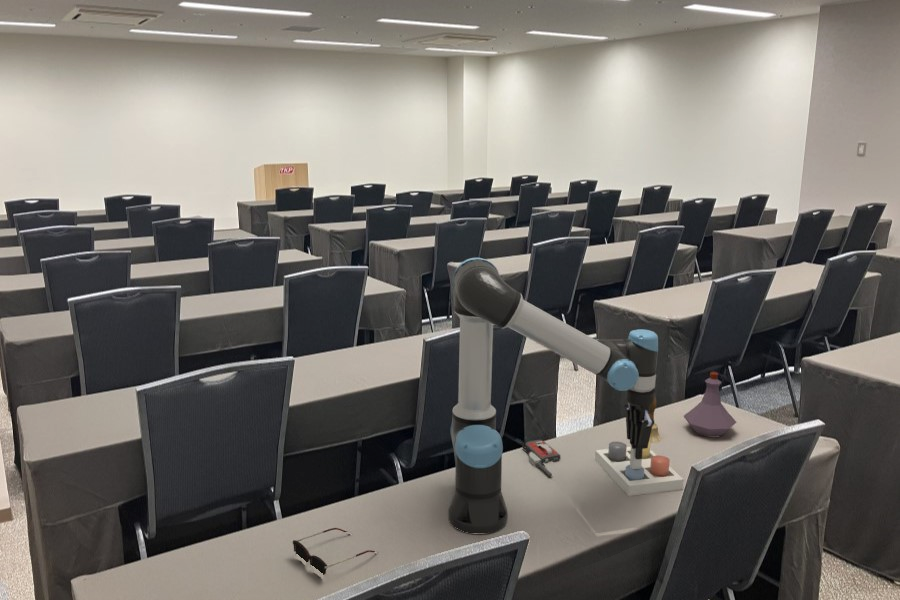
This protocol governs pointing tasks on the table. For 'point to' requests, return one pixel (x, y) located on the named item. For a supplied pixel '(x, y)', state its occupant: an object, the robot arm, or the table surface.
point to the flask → (710, 411)
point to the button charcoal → (617, 451)
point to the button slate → (634, 473)
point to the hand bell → (654, 432)
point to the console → (638, 486)
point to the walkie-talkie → (541, 454)
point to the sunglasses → (316, 560)
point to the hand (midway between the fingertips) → (635, 467)
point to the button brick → (659, 466)
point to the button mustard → (646, 452)
